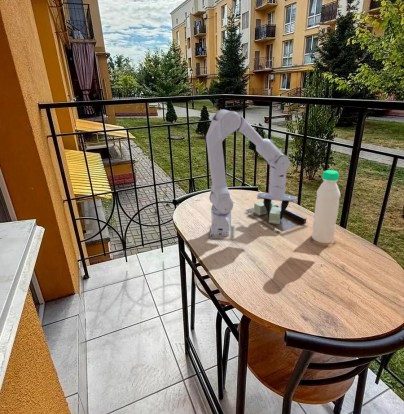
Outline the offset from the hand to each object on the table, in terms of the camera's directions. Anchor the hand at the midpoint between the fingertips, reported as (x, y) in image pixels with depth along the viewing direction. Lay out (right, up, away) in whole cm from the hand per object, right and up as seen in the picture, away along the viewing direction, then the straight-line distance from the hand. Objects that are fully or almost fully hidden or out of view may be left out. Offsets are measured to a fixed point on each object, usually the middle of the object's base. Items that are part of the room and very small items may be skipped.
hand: (275, 217), depth 109 cm
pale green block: (0, -1, 0) cm, 1 cm away
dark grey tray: (0, -1, +4) cm, 4 cm away
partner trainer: (-3, +2, +7) cm, 8 cm away
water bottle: (+13, -7, -13) cm, 20 cm away
